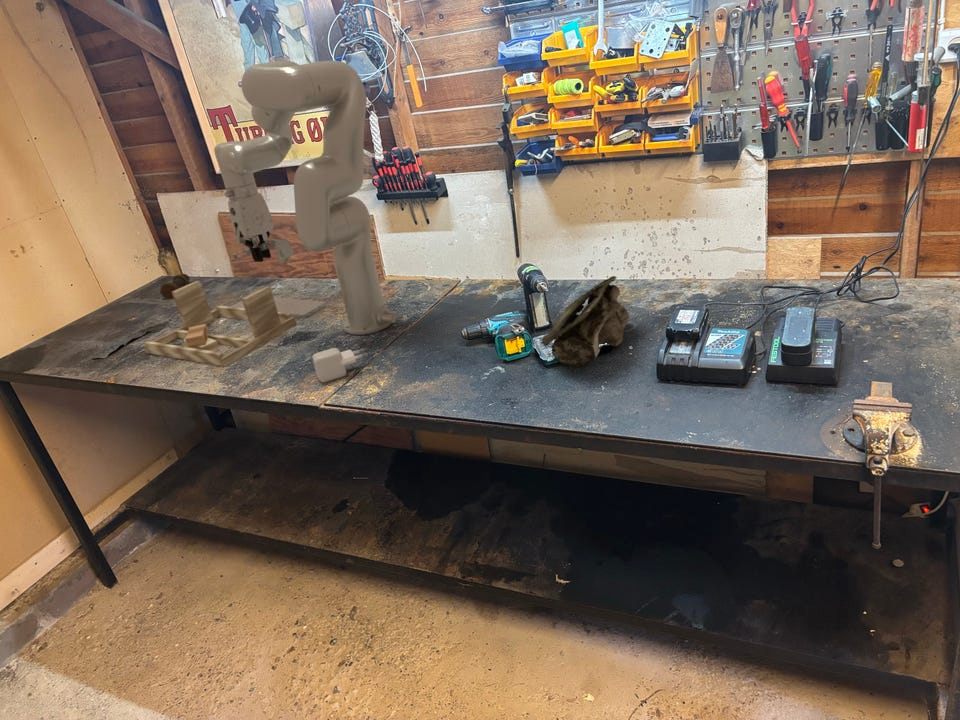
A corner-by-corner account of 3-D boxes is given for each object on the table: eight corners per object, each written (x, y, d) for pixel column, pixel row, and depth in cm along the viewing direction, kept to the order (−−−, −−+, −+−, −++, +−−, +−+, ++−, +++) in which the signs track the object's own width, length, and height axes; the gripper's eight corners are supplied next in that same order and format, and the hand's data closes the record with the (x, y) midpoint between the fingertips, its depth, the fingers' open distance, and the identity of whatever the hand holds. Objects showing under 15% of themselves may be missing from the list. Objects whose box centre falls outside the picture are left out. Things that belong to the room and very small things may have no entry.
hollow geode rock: (568, 402, 123) (617, 360, 113) (520, 356, 124) (565, 310, 113) (617, 336, 144) (662, 295, 133) (576, 297, 144) (618, 253, 134)
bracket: (286, 258, 166) (265, 224, 164) (248, 286, 180) (228, 255, 178) (295, 254, 168) (274, 220, 166) (257, 282, 182) (237, 252, 180)
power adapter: (366, 361, 141) (360, 337, 138) (372, 369, 137) (366, 345, 134) (317, 376, 137) (310, 352, 135) (321, 385, 133) (314, 361, 131)
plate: (326, 305, 176) (325, 301, 176) (304, 318, 169) (303, 315, 169) (253, 298, 190) (252, 295, 190) (230, 310, 183) (229, 307, 183)
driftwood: (104, 362, 163) (100, 355, 162) (84, 361, 165) (81, 354, 164) (162, 328, 180) (159, 322, 179) (143, 328, 182) (141, 322, 181)
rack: (296, 324, 167) (284, 280, 161) (225, 366, 149) (208, 319, 143) (219, 315, 181) (205, 275, 176) (146, 352, 163) (128, 309, 158)
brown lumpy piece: (190, 288, 215) (175, 302, 202) (175, 283, 214) (158, 297, 201) (194, 272, 213) (179, 286, 200) (179, 267, 212) (162, 280, 198)
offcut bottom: (220, 351, 158) (216, 340, 157) (205, 358, 156) (201, 347, 154) (201, 344, 164) (197, 333, 163) (187, 350, 162) (182, 339, 161)
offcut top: (205, 344, 156) (202, 335, 154) (188, 348, 155) (185, 339, 154) (208, 332, 163) (205, 323, 161) (192, 336, 162) (189, 327, 161)
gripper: (228, 199, 157) (250, 270, 166) (274, 183, 169) (293, 250, 178) (208, 200, 161) (230, 269, 169) (255, 184, 173) (273, 249, 181)
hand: (262, 258), depth 173 cm, fingers closed on bracket, 2 cm apart
